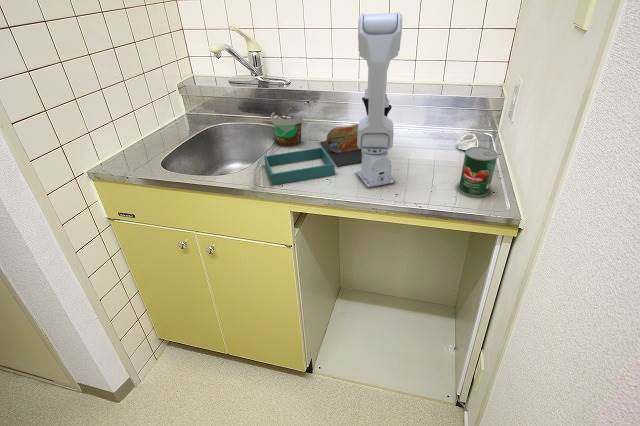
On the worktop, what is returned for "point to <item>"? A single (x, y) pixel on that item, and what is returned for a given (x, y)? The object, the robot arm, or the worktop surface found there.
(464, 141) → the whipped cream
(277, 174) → the crate
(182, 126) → the worktop surface
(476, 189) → the canned tomato
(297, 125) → the food container
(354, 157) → the mat
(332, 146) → the tin
